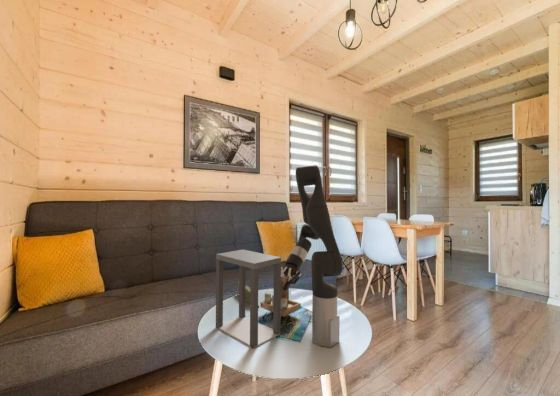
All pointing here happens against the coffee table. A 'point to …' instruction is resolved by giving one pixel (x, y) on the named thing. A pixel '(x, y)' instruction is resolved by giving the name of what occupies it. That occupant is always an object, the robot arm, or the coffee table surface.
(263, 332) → the grey stool
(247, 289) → the handheld radio
